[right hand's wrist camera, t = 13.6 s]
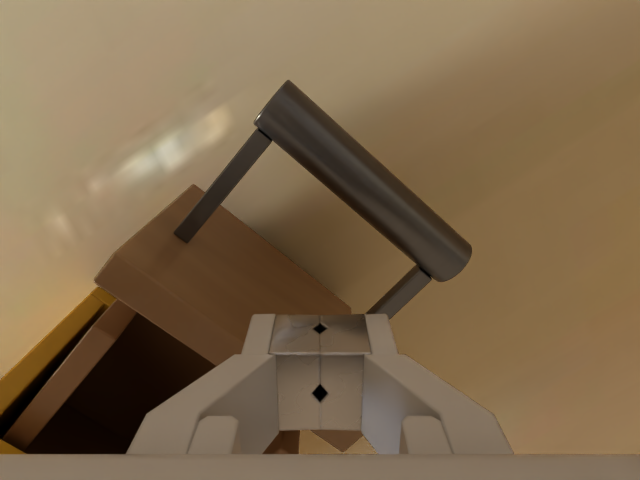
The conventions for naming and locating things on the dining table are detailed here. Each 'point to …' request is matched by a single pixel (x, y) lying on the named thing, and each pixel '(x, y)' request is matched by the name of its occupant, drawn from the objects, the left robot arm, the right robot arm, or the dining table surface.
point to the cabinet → (46, 361)
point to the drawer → (222, 289)
